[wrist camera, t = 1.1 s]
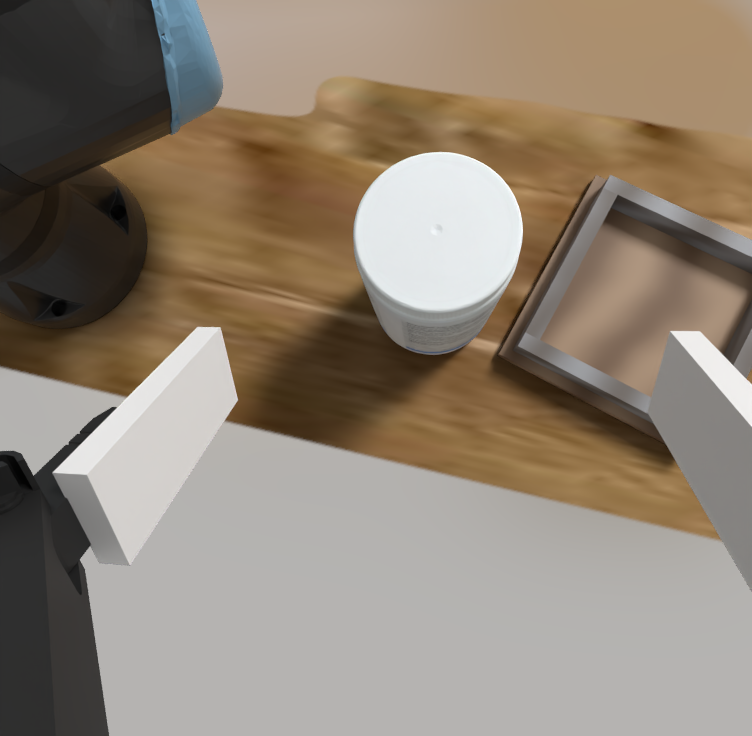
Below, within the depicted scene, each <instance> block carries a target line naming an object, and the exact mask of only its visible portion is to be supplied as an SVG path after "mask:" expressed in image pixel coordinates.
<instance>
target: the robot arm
mask: <svg viewBox="0 0 752 736" xmlns="http://www.w3.org/2000/svg"><path fill="white" fill-rule="evenodd" d="M222 89H223V79H222V74H221V70H220V67H219V64H218V60H217V57H216V54H215V51H214V48H213V46H212V43H211V40H210V37H209V34H208V31H207V29H206V26H205V23H204V21H203V18H202V15H201V12H200V10H199V7H198V4H197V2H196V0H0V312H1V313H3V314H5V315H7V316H9V317H11V318H13V319H16V320H19V321H22V322H25V323H29V324H33V325H36V326H40V327H45V328H53V329H63V328H72V327H77V326H80V325H84V324H87V323H89V322H92V321H94V320H96V319H98V318H100V317H101V316H103V315H105V314H106V313H108V312H109V311H110V310H112V309H113V308H114V307H115V306H116V305H118V304H119V303H120V302H121V301H122V299H123V298H124V297H125V296H126V295H127V294H128V292H129V291H130V290H131V288H132V287H133V285H134V283H135V282H136V280H137V278H138V276H139V274H140V271H141V269H142V266H143V263H144V259H145V255H146V249H147V229H146V223H145V219H144V215H143V212H142V210H141V207H140V205H139V203H138V202H137V200H136V198H135V197H134V195H133V194H132V193H131V191H130V190H129V189H128V188H127V187H126V186H125V185H124V184H123V183H122V182H120V181H119V180H118V179H117V178H116V177H114V176H113V175H112V174H111V173H110V172H108V171H107V170H106V169H104V168H103V167H101V166H99V165H101V164H103V163H105V162H107V161H110V160H112V159H114V158H116V157H119V156H121V155H123V154H125V153H128V152H130V151H132V150H134V149H137V148H139V147H141V146H143V145H146V144H148V143H150V142H152V141H155V140H157V139H159V138H161V137H163V136H166V135H168V134H170V135H173V134H175V132H178V131H179V129H180V127H181V126H183V125H184V124H186V123H188V122H190V121H192V120H193V119H195V118H197V117H199V116H201V115H203V114H205V113H207V112H208V111H210V110H212V109H213V107H214V106H215V105H216V104H217V102H218V101H219V99H220V97H221V94H222ZM237 401H238V398H237V394H236V390H235V386H234V382H233V377H232V373H231V369H230V365H229V361H228V357H227V352H226V348H225V344H224V340H223V336H222V332H221V327H197V328H196V329H195V330H194V331H193V332H192V333H191V334H190V335H189V336H188V337H187V338H186V339H185V340H184V341H183V342H182V343H181V344H180V345H179V346H178V347H177V348H176V349H175V350H174V351H173V352H172V353H171V354H170V355H169V356H168V357H167V358H166V359H165V360H164V361H163V362H162V363H161V364H160V365H159V366H158V367H157V368H156V369H155V370H154V371H153V372H152V373H151V374H150V375H149V376H148V377H147V378H146V379H145V380H144V381H143V382H142V383H141V384H140V385H139V386H138V387H137V388H136V389H135V390H134V391H133V392H132V393H131V394H130V395H129V396H128V397H127V398H126V399H125V400H124V401H123V402H122V403H121V404H120V405H119V406H118V407H112V408H110V409H109V410H107V411H105V412H103V413H102V414H100V415H98V416H97V417H95V418H93V419H92V420H91V421H90V422H89V423H88V424H87V425H86V426H85V427H84V428H83V429H82V430H81V431H80V434H77V435H76V436H75V437H74V438H73V439H71V440H70V441H69V445H65V446H64V447H63V448H62V449H61V450H60V451H59V452H58V453H57V454H56V455H55V456H54V457H53V458H52V459H51V460H50V461H49V462H48V463H47V464H46V465H45V466H43V467H42V469H40V470H39V472H37V473H36V474H35V475H34V476H33V474H32V472H31V470H30V469H29V467H28V465H27V463H26V461H25V459H24V458H23V456H22V454H21V453H18V452H15V451H0V736H109V732H108V726H107V719H106V712H105V705H104V698H103V691H102V684H101V677H100V670H99V664H98V657H97V650H96V643H95V636H94V630H93V623H92V615H91V609H90V602H89V595H88V588H87V582H86V574H85V569H84V567H83V565H82V563H81V562H80V558H81V557H82V556H83V554H84V553H85V552H86V550H87V549H88V548H89V546H91V548H92V550H93V552H94V554H95V556H96V558H97V560H98V562H99V563H104V564H116V565H129V566H130V565H131V563H132V562H133V560H134V559H135V557H136V555H137V554H138V553H139V551H140V550H141V548H142V547H143V545H144V543H145V542H146V540H147V539H148V537H149V536H150V534H151V533H152V531H153V530H154V528H155V526H156V525H157V523H158V522H159V520H160V519H161V517H162V516H163V514H164V513H165V511H166V510H167V508H168V506H169V505H170V503H171V502H172V500H173V499H174V497H175V496H176V494H177V493H178V491H179V490H180V488H181V487H182V485H183V483H184V482H185V480H186V479H187V477H188V476H189V474H190V473H191V471H192V470H193V468H194V467H195V465H196V464H197V462H198V460H199V459H200V457H201V456H202V454H203V453H204V451H205V450H206V448H207V447H208V445H209V444H210V442H211V440H212V439H213V437H214V436H215V434H216V433H217V431H218V429H219V428H220V427H221V425H222V424H223V422H224V421H225V419H226V417H227V416H228V414H229V413H230V411H231V410H232V408H233V407H234V405H235V404H236V402H237ZM647 413H648V414H649V416H650V418H651V419H652V421H653V423H654V425H655V426H656V428H657V430H658V431H659V433H660V435H661V437H662V438H663V440H664V442H665V444H666V445H667V447H668V449H669V450H670V452H671V454H672V456H673V457H674V459H675V461H676V462H677V464H678V466H679V468H680V469H681V471H682V473H683V474H684V476H685V478H686V480H687V481H688V483H689V485H690V487H691V488H692V490H693V492H694V493H695V495H696V497H697V499H698V500H699V502H700V504H701V505H702V507H703V509H704V511H705V512H706V514H707V516H708V517H709V519H710V521H711V523H712V524H713V526H714V528H715V529H716V531H717V533H718V535H719V536H720V538H721V540H722V542H723V543H724V545H725V547H726V548H727V550H728V552H729V554H730V555H731V557H732V559H733V560H734V562H735V564H736V566H737V567H738V569H739V571H740V572H741V574H742V576H743V578H744V579H745V581H746V583H747V585H748V586H749V588H750V590H751V591H752V384H751V383H750V382H749V381H748V380H747V379H746V378H745V377H744V376H743V375H742V374H741V373H740V372H739V371H738V370H737V369H736V368H735V367H734V366H733V365H732V364H731V363H730V362H729V361H728V360H727V359H726V358H725V357H724V356H723V355H722V353H721V352H720V351H719V350H718V349H717V348H716V347H715V346H714V345H713V344H712V343H711V342H710V341H709V340H708V339H707V338H706V337H705V336H704V335H703V334H702V333H701V332H700V331H670V333H669V336H668V340H667V343H666V347H665V350H664V354H663V358H662V361H661V365H660V368H659V372H658V376H657V379H656V383H655V386H654V390H653V393H652V397H651V401H650V404H649V408H648V411H647Z"/></svg>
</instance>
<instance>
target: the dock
mask: <svg viewBox="0 0 752 736" xmlns="http://www.w3.org/2000/svg"><path fill="white" fill-rule="evenodd" d="M670 331H700V332H701V333H702V334H703V335H704V336H705V337H706V338H707V339H708V340H709V341H710V342H711V343H712V344H713V345H714V346H715V347H716V348H717V349H718V350H719V351H720V352H721V353H722V355H723V356H724V357H725V358H726V359H727V360H728V361H729V362H730V363H731V364H732V365H733V366H734V367H735V368H736V369H737V370H738V371H739V372H740V373H741V374H742V375H743V376H744V377H745V378H747V376H748V374H749V372H750V370H751V368H752V240H750V239H748V238H746V237H744V236H742V235H740V234H737V233H735V232H733V231H731V230H729V229H726V228H724V227H722V226H720V225H718V224H716V223H713V222H711V221H709V220H707V219H705V218H703V217H700V216H698V215H696V214H694V213H692V212H690V211H687V210H685V209H683V208H681V207H679V206H677V205H674V204H672V203H670V202H668V201H666V200H664V199H661V198H659V197H657V196H655V195H653V194H651V193H648V192H646V191H644V190H642V189H640V188H638V187H635V186H633V185H631V184H629V183H627V182H625V181H622V180H620V179H618V178H616V177H614V176H612V175H610V176H609V178H608V179H607V180H606V179H604V178H601V177H599V176H597V175H596V176H595V177H594V179H593V180H592V182H591V184H590V186H589V188H588V190H587V191H586V193H585V195H584V197H583V199H582V201H581V202H580V204H579V206H578V208H577V210H576V212H575V213H574V215H573V217H572V219H571V221H570V223H569V225H568V226H567V228H566V230H565V232H564V234H563V236H562V237H561V239H560V241H559V243H558V245H557V247H556V248H555V250H554V252H553V254H552V256H551V258H550V259H549V261H548V263H547V265H546V267H545V269H544V271H543V272H542V274H541V276H540V278H539V280H538V282H537V283H536V285H535V287H534V289H533V291H532V293H531V294H530V296H529V298H528V300H527V302H526V304H525V306H524V307H523V309H522V311H521V313H520V315H519V317H518V318H517V320H516V322H515V324H514V326H513V328H512V329H511V331H510V333H509V335H508V337H507V339H506V341H505V342H504V344H503V346H502V348H501V350H500V352H499V353H498V355H497V356H499V357H501V358H503V359H505V360H507V361H508V362H510V363H512V364H514V365H516V366H518V367H520V368H522V369H524V370H526V371H527V372H529V373H531V374H533V375H535V376H537V377H539V378H541V379H543V380H544V381H546V382H548V383H550V384H552V385H554V386H556V387H558V388H560V389H562V390H563V391H565V392H567V393H569V394H571V395H573V396H575V397H577V398H579V399H580V400H582V401H584V402H586V403H588V404H590V405H592V406H594V407H596V408H598V409H599V410H601V411H603V412H605V413H607V414H609V415H611V416H613V417H615V418H617V419H618V420H620V421H622V422H624V423H626V424H628V425H630V426H632V427H634V428H635V429H637V430H639V431H641V432H643V433H645V434H647V435H649V436H651V437H653V438H654V439H656V440H658V441H660V442H662V443H664V444H665V442H664V440H663V438H662V437H661V435H660V433H659V431H658V430H657V428H656V426H655V425H654V423H653V421H652V419H651V418H650V416H649V414H648V413H647V411H648V408H649V404H650V401H651V397H652V393H653V390H654V386H655V383H656V379H657V376H658V372H659V368H660V365H661V361H662V358H663V354H664V350H665V347H666V343H667V340H668V336H669V333H670Z"/></svg>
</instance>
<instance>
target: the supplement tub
mask: <svg viewBox="0 0 752 736" xmlns="http://www.w3.org/2000/svg"><path fill="white" fill-rule="evenodd" d="M522 235H523V226H522V218H521V213H520V209H519V206H518V203H517V201H516V199H515V196H514V195H513V193H512V191H511V190H510V188H509V187H508V185H507V184H506V183H505V181H504V180H503V179H502V178H501V177H500V176H499V175H498V174H497V173H496V172H495V171H493V170H492V169H491V168H489V167H488V166H486V165H485V164H483V163H481V162H479V161H477V160H475V159H473V158H470V157H467V156H464V155H460V154H455V153H448V152H435V153H424V154H420V155H416V156H412V157H410V158H407V159H405V160H402V161H400V162H398V163H396V164H395V165H393V166H392V167H390V168H389V169H387V170H386V171H385V172H383V173H382V174H381V175H380V176H379V177H378V178H377V179H376V180H375V181H374V182H373V183H372V184H371V186H370V187H369V188H368V190H367V191H366V193H365V195H364V196H363V198H362V200H361V202H360V205H359V207H358V210H357V213H356V217H355V222H354V229H353V238H354V254H355V259H356V263H357V267H358V270H359V272H360V275H361V277H362V280H363V283H364V285H365V288H366V290H367V293H368V295H369V298H370V300H371V303H372V305H373V308H374V311H375V313H376V315H377V318H378V320H379V322H380V324H381V326H382V328H383V329H384V331H385V332H386V333H387V335H388V336H389V337H390V338H391V339H392V340H393V341H394V342H396V343H397V344H399V345H400V346H402V347H404V348H405V349H408V350H410V351H413V352H416V353H421V354H428V355H439V354H445V353H449V352H452V351H455V350H457V349H459V348H461V347H463V346H465V345H466V344H467V343H469V342H470V341H471V340H473V339H474V338H475V337H476V336H477V335H478V333H479V332H480V331H481V329H482V328H483V326H484V325H485V323H486V321H487V320H488V318H489V316H490V314H491V313H492V311H493V309H494V308H495V306H496V304H497V303H498V301H499V299H500V297H501V296H502V294H503V292H504V291H505V289H506V287H507V285H508V283H509V282H510V280H511V278H512V276H513V273H514V271H515V268H516V265H517V261H518V257H519V253H520V249H521V244H522Z"/></svg>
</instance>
